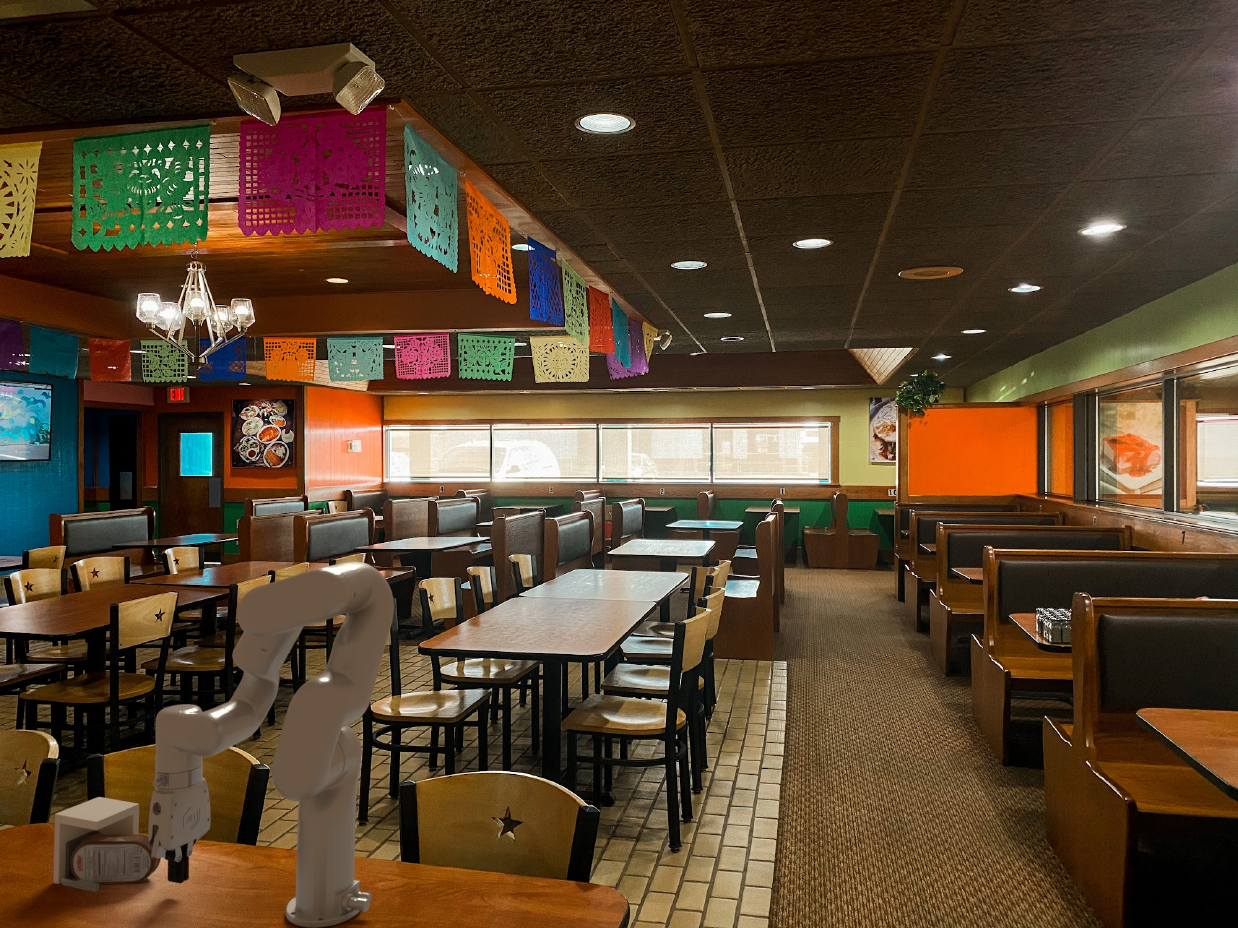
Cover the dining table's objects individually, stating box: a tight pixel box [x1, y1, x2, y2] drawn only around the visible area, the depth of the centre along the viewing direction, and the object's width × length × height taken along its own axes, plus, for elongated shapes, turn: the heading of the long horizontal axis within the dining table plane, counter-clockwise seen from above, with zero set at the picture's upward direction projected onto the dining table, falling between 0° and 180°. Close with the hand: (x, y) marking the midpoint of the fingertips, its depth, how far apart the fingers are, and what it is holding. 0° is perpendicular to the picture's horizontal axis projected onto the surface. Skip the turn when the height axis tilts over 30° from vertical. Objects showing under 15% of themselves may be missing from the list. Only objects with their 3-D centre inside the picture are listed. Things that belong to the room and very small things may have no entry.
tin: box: [70, 833, 162, 885], centre depth 159 cm, size 15×3×8 cm, turn 95°
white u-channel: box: [53, 796, 140, 893], centre depth 161 cm, size 10×9×12 cm
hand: (178, 879), depth 154 cm, fingers closed
